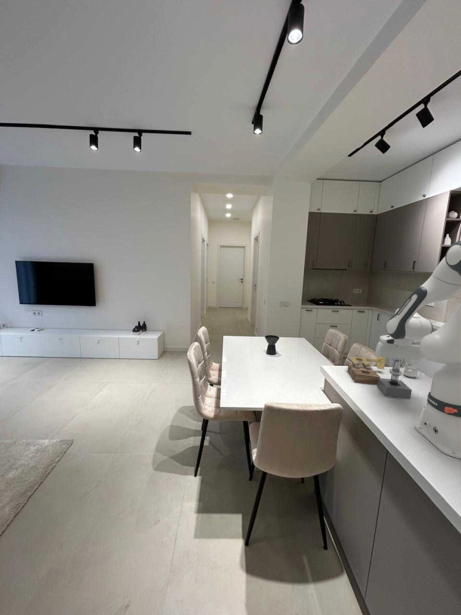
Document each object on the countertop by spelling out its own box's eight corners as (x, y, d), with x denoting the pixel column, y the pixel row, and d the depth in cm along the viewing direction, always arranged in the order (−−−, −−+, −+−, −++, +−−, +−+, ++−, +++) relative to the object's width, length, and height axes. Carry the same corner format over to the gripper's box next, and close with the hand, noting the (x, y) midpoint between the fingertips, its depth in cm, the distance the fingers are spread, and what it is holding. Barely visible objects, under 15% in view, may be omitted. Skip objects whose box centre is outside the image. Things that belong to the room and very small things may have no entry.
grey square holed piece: (410, 399, 124) (411, 390, 124) (385, 396, 126) (386, 387, 126) (399, 388, 135) (401, 380, 134) (377, 386, 137) (378, 377, 136)
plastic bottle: (419, 379, 149) (425, 345, 145) (407, 378, 149) (413, 345, 145) (411, 374, 155) (417, 342, 152) (400, 373, 155) (405, 341, 152)
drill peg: (401, 385, 127) (405, 362, 125) (390, 384, 128) (394, 361, 126) (397, 381, 132) (401, 358, 130) (386, 379, 133) (389, 357, 131)
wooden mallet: (390, 375, 146) (391, 363, 145) (354, 371, 149) (356, 360, 148) (382, 367, 157) (383, 356, 156) (349, 364, 160) (350, 353, 159)
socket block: (379, 385, 138) (380, 374, 137) (355, 382, 140) (356, 371, 139) (368, 373, 154) (370, 363, 153) (347, 371, 156) (348, 361, 155)
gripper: (421, 340, 128) (416, 366, 130) (376, 336, 131) (372, 362, 133) (428, 343, 121) (423, 371, 124) (381, 339, 125) (377, 366, 127)
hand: (396, 366), depth 129 cm, fingers closed on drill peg, 3 cm apart
